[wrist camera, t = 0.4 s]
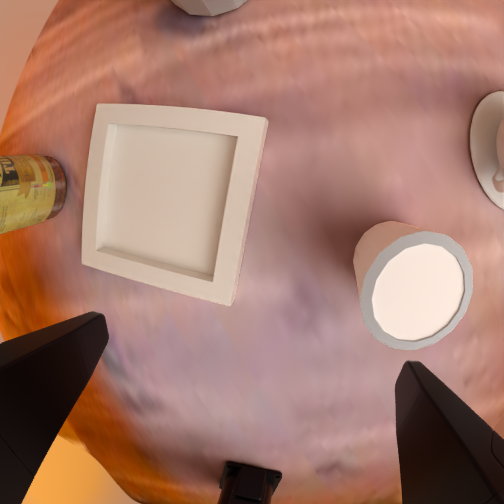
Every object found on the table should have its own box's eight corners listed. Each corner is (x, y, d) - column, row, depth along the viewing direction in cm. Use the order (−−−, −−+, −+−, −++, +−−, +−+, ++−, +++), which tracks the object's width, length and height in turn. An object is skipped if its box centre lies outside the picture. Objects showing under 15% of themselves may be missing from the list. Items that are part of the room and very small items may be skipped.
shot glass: (324, 262, 22) (332, 301, 16) (389, 191, 20) (425, 202, 14) (386, 319, 23) (410, 371, 16) (447, 255, 21) (492, 288, 14)
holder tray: (235, 296, 24) (230, 306, 22) (93, 258, 25) (81, 263, 24) (268, 121, 20) (265, 117, 19) (109, 106, 22) (97, 103, 20)
